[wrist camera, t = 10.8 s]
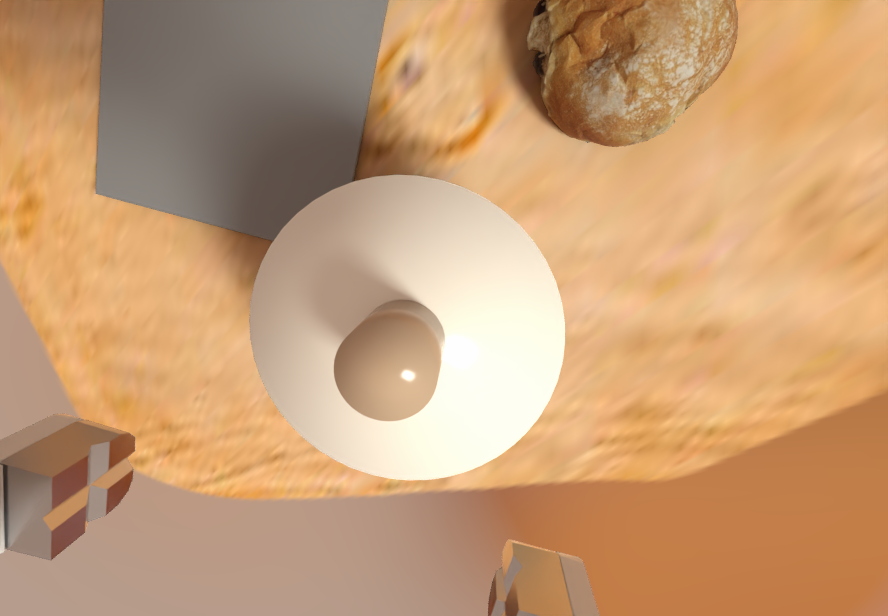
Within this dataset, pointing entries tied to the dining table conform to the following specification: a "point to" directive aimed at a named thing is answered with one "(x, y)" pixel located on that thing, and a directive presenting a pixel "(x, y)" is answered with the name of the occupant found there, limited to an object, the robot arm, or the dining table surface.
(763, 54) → the dining table surface
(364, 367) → the lid
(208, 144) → the mat
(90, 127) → the dining table surface
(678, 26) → the bread roll
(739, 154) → the dining table surface
